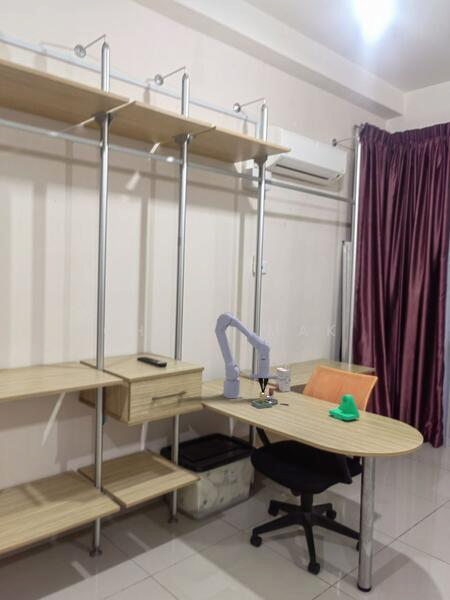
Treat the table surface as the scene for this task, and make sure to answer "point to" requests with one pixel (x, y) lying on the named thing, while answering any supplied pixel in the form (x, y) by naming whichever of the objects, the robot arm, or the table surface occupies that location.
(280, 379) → the ink cartridge box
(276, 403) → the dark gray disc
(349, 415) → the camera mount
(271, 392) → the crank
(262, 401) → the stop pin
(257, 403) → the tray
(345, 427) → the table surface
